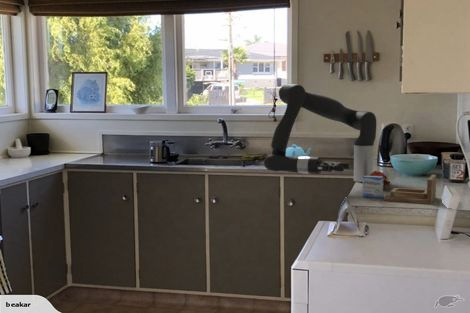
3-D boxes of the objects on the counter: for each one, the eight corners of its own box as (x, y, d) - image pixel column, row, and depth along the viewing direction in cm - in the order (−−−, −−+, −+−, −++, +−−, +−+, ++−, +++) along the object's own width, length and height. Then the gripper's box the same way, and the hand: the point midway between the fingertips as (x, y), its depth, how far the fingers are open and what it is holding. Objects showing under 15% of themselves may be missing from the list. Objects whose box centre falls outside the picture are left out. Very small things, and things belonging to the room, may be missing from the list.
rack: (390, 194, 256) (391, 172, 255) (435, 197, 248) (436, 174, 247) (383, 200, 243) (384, 177, 242) (430, 204, 236) (431, 179, 234)
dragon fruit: (371, 189, 278) (385, 197, 267) (359, 179, 274) (372, 188, 263) (382, 174, 277) (397, 182, 266) (370, 164, 274) (384, 172, 263)
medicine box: (362, 197, 251) (362, 176, 250) (364, 195, 255) (364, 175, 254) (381, 198, 249) (382, 177, 247) (383, 196, 253) (383, 175, 252)
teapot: (313, 163, 357) (313, 144, 356) (293, 165, 349) (293, 146, 347) (295, 160, 370) (295, 142, 368) (276, 162, 361) (276, 144, 360)
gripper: (304, 158, 256) (342, 160, 249) (314, 154, 269) (350, 156, 262) (304, 176, 257) (341, 178, 250) (314, 171, 269) (350, 174, 263)
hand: (346, 167), depth 256 cm, fingers open, 8 cm apart
